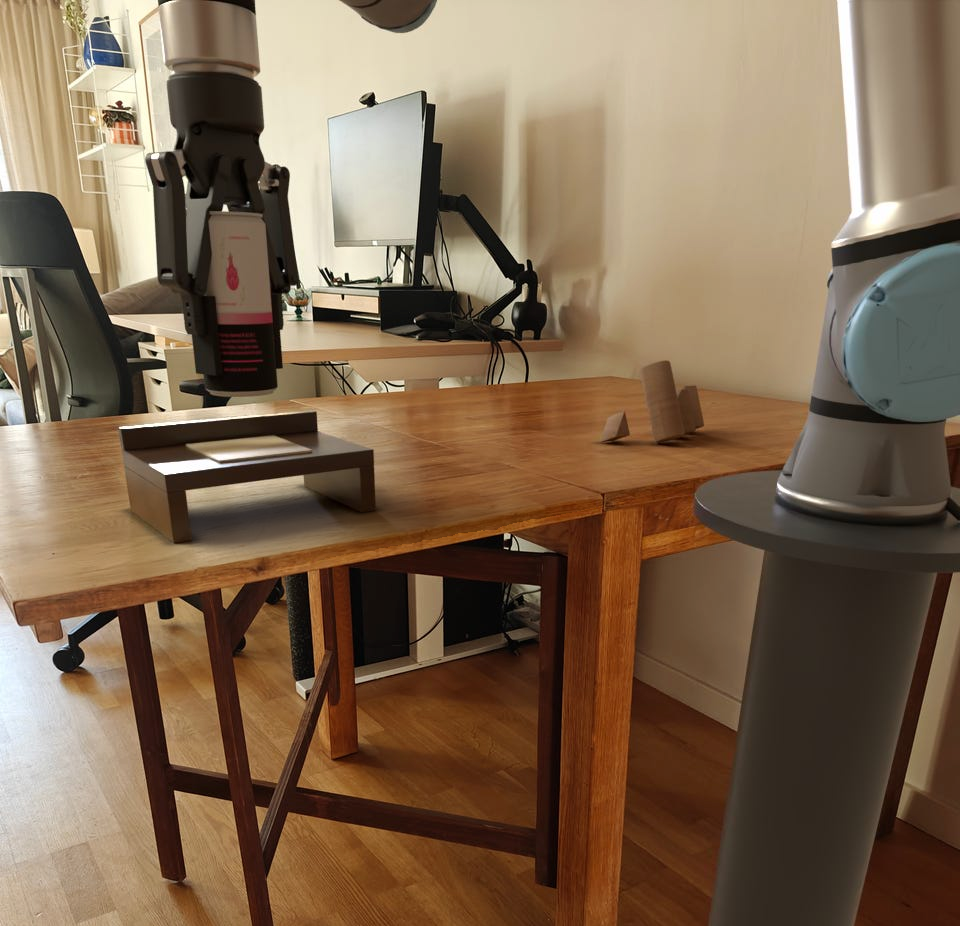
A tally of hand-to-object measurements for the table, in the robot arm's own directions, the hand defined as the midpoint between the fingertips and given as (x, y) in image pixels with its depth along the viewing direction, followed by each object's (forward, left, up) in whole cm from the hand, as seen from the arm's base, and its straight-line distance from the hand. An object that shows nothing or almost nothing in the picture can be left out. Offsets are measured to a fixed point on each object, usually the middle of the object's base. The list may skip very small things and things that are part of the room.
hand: (240, 370), depth 79 cm
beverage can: (0, 0, -2) cm, 2 cm away
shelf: (0, 0, -13) cm, 13 cm away
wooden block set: (+5, -63, -13) cm, 65 cm away
